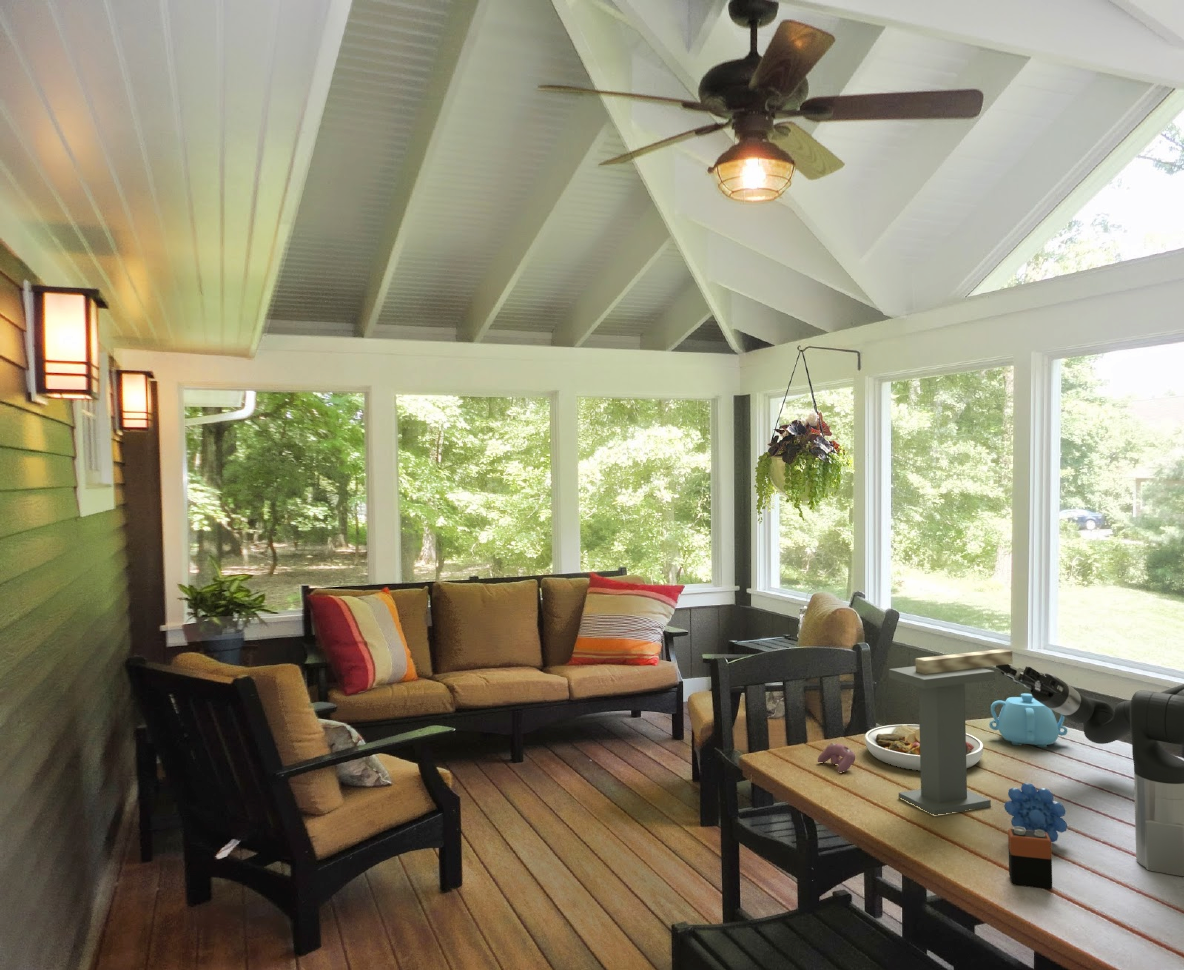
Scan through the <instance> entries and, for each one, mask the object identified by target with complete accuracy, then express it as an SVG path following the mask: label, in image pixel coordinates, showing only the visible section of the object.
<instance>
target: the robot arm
mask: <svg viewBox="0 0 1184 970" xmlns="http://www.w3.org/2000/svg"><path fill="white" fill-rule="evenodd" d="M995 668H996V669H998V670H999V671H1000V674H1001V676H1004V677H1006V679H1008V680H1011V681H1012V682H1014V683H1015V684H1018V685H1019V684H1020V685H1022V686H1023V687H1024V688H1026V689H1029V690H1030V694H1032V696H1033V698H1034V699H1035V700H1037V701H1038V702H1040V703H1042V704H1043V705H1045V706H1046V707H1048V708H1050V709H1051V710H1052V712H1055V713H1057V714H1059V715H1060V716H1061V715H1063V716H1064V717H1065V718H1066V719H1068V721H1071V722H1073V723H1076V724H1083V734H1084V736H1085V738H1086V739H1087V740H1088V741H1090V742H1092V743H1094V744H1100V745H1104V744H1106V745H1107V744H1111V743H1113V742H1115V741H1118V740H1119V739H1121V738H1123V737H1125V736H1127V735H1128V734H1130V735H1131V737H1130V738H1131V749H1132V752H1131V753H1132V760H1133V761H1132V762H1133V773H1134V774H1133V777H1134V778H1133V782H1134V783H1133V784H1134V785H1133V786H1134V789H1133V791H1134V824H1135V825H1134V828H1135V829H1134V830H1135V832H1134V833H1135V860H1136V862H1137V863H1139V864H1140V865H1141V866H1143V867H1144V868H1145V869H1146V870H1147V871H1151V872H1158V873H1162V874H1169V875H1173V876H1179V877H1184V759H1182V758H1180V757H1177V756H1176V755H1174V754H1172V752H1171V753H1170V752H1169V751H1168V750H1166V749H1165V748H1164V747H1163V746H1161V745H1160V744H1159V743H1160V742H1163V743H1167V744H1168V743H1169V744H1173V745H1174V744H1175V745H1183V746H1184V683H1183V684H1180V685H1177V686H1174V687H1171V688H1169V689H1166V690H1163V691H1161V692H1158V691H1153V690H1144V689H1143V690H1142V689H1141V690H1137V691H1135V692H1134V693H1133V695H1132V697H1131V699H1129V700H1124V701H1121V702H1119V703H1117V705H1116V706H1115V708H1113V706H1112V705H1110V703H1108V702H1107V701H1104V700H1100V699H1095V698H1092V697H1087V696H1085V695H1084V694H1082V693H1081V692H1079V691H1077V690H1076V689H1075V688H1074V687H1072V686H1071V685H1070V684H1068V683H1067V682H1065V681H1064V680H1062V679H1061V678H1059V677H1057V676H1056V675H1054V674H1053V673H1050V672H1049V673H1048V672H1046V673H1043V672H1040V671H1037V670H1036V669H1035V668H1033V667H1031V666H1028V665H1026V666H1025V667H1024V668H1021V667H1018V668H1017V667H1014V666H1012V665H1011V664H1005V665H996V666H995Z"/></svg>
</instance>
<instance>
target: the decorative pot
mask: <svg viewBox="0 0 1184 970" xmlns="http://www.w3.org/2000/svg"><path fill="white" fill-rule="evenodd" d="M997 705H1002V707H1001V710H1000V713H999V715H998V716H997V714H996V710H995V709H996V708H995V706H997ZM990 713H991V716H992V718H993V720H990V721H989V728H990V729H991V730H993V731H999V733H1000V734H1001V736H1002V737H1003V739H1004V740H1006V741H1008V742H1011V744H1012V745H1015V746H1021V745H1022V744H1025V745H1026V744H1027V745H1036V747H1040V748H1047V747H1048V746H1047V745H1052V744H1054V743H1055V742H1056V741H1057V739H1058V738H1059V736H1066V735H1067V734H1068V728H1067V727H1066V726H1064V725H1063V723H1064V721H1065V718H1066V717H1064V716H1063V715H1061V714H1060V718H1059V720H1057V718H1056V715H1055V714H1054V711H1053V710H1051V709H1050V708H1048V707H1046V706H1045V705H1043V704H1042V703H1040V702H1038V701H1037V700H1035V699H1034V698H1033V696H1032V694H1031V693H1027V692H1026V693H1025V692H1024V693H1020V696H1011V697H1008V698H1006V700H1001V699H1000V700H996V701H993V702H992V704H991V705H990ZM993 724H995V726H994V725H993ZM1061 729H1062V730H1063V731H1061Z"/></svg>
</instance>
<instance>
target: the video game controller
mask: <svg viewBox="0 0 1184 970" xmlns="http://www.w3.org/2000/svg"><path fill="white" fill-rule="evenodd" d="M840 757H841V758H840ZM826 761H827V762H828V761H830V763H831V764H832V763H833V764H832V765H834V764H838V765H837V772H838V771H839V772H843V771H845V772H847V771H848V770H849V769H850V767H851V766H852V765H853V764H854V762H855V761H856V753H854V751H852V750H851V748H849V747H848V746H846V745H844V744H841V743H832V742H831V743H830V744H828V745H827V746H826V747H825V748H824V750H823V751H821V753H820V754H819V755H818V758H817V763H818V762H825V763H827V762H826ZM839 772H838V773H839Z"/></svg>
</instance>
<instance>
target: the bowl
mask: <svg viewBox="0 0 1184 970" xmlns="http://www.w3.org/2000/svg"><path fill="white" fill-rule="evenodd" d="M864 735H865V736H864V740H865V742H864V743H865V745H866V748H867V750H868V751H869V752H870V754H872V756H873V757H875V758H876V759H878V760H879V761H881V762H883V763H885V764H887V763H888V765H890V764H891V765H890V766H893V767H896V766H897V768H900V767H901V768H900V769H904V768H906V770H909V769H912V770H911V771H916V770H918V772H921V769H920V725H919V724H914V723H913V724H912V723H911V724H907V723H906V724H904V723H903V724H888V725H883V726H879V727H875V728H872V729H870V730H868V731H867V732H866V733H865V734H864ZM983 753H984V743H983V742H982V741H981V740H980V739H979V738H977V737H976V736H974V735H972V734H969V733H967V732H966V769H968V768H971V767H973V766H975V765H976V764H978V762H979V761H980V760H981V759H982V756H983Z"/></svg>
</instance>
